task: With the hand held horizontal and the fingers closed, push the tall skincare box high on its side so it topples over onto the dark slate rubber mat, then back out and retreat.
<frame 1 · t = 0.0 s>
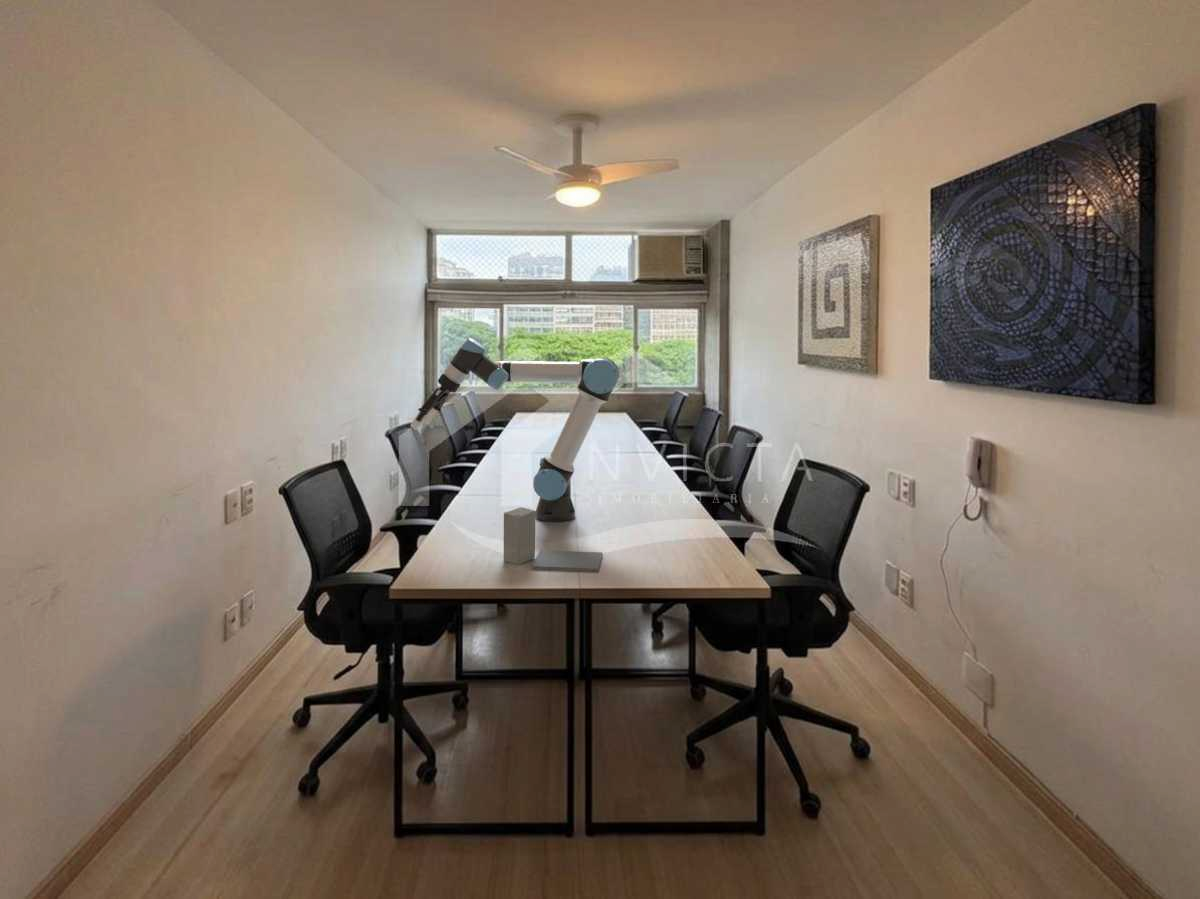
hand: (419, 425, 258), 36 cm above the table, tool tilted 35°, fingers open, 13 cm apart
skincare box: (519, 561, 222), on the table
slate mat: (567, 562, 221), on the table
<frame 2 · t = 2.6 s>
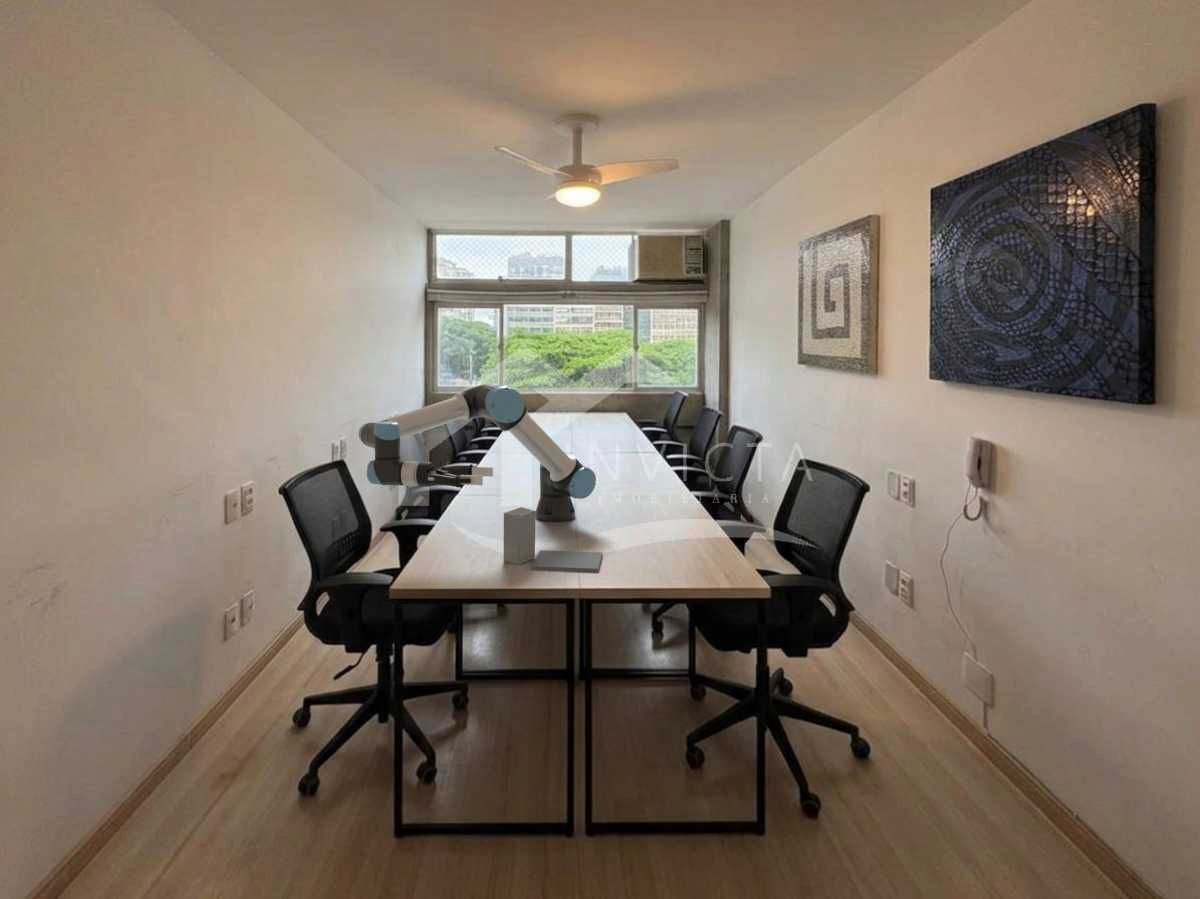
hand: (487, 476, 218), 26 cm above the table, tool horizontal, fingers open, 12 cm apart
nothing on the table moved.
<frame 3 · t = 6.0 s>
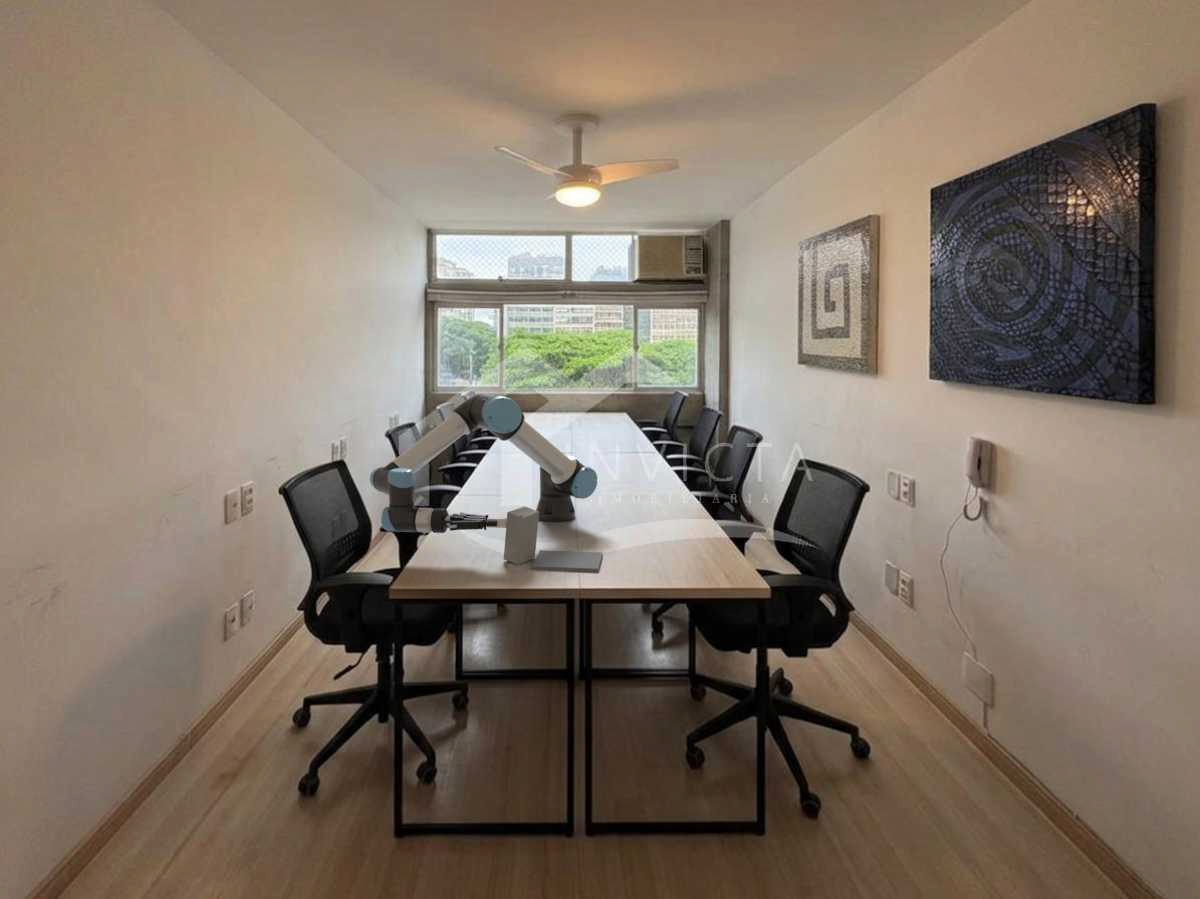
hand: (508, 523, 220), 12 cm above the table, tool horizontal, fingers closed
skincare box: (519, 560, 222), on the table, touching gripper
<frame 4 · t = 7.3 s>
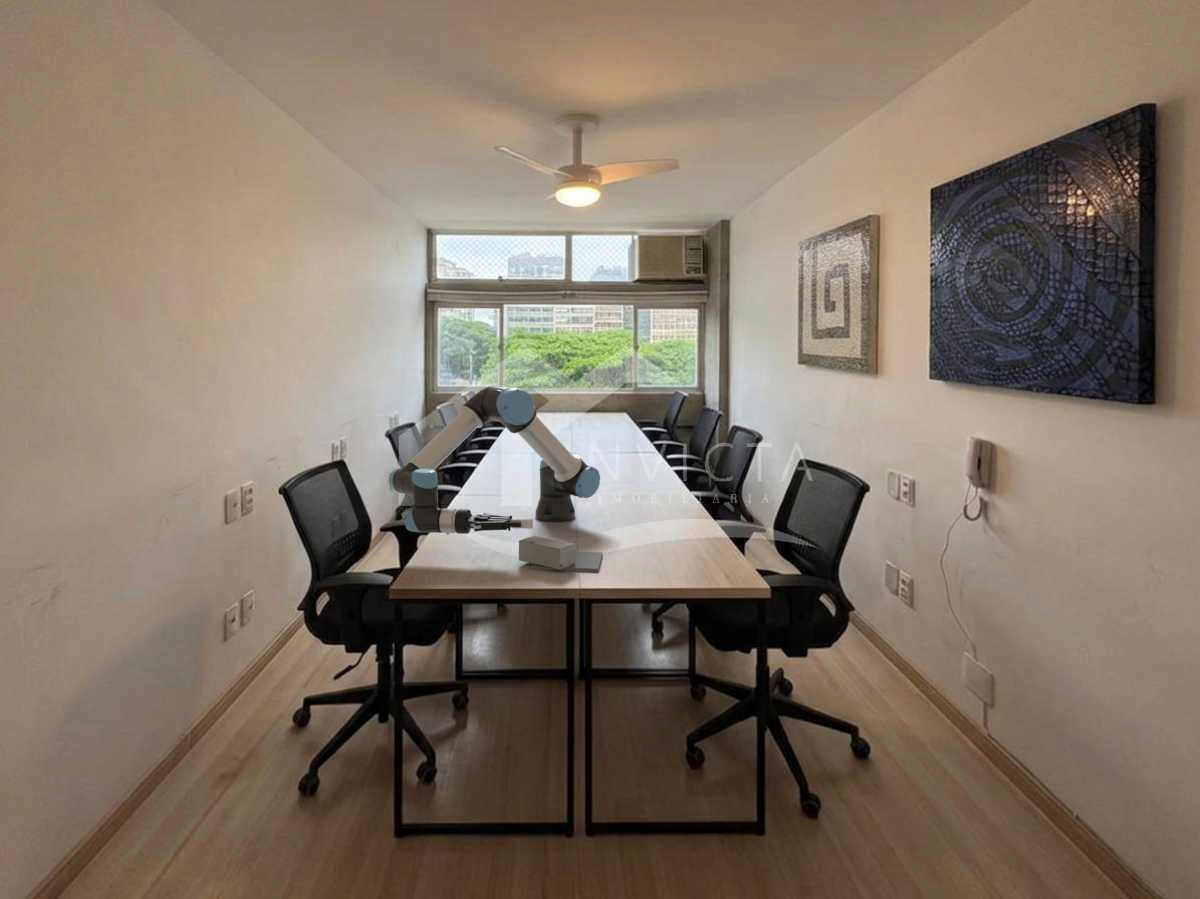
hand: (532, 523, 219), 12 cm above the table, tool horizontal, fingers closed
skincare box: (525, 549, 220), point 4 cm above the table, touching slate mat
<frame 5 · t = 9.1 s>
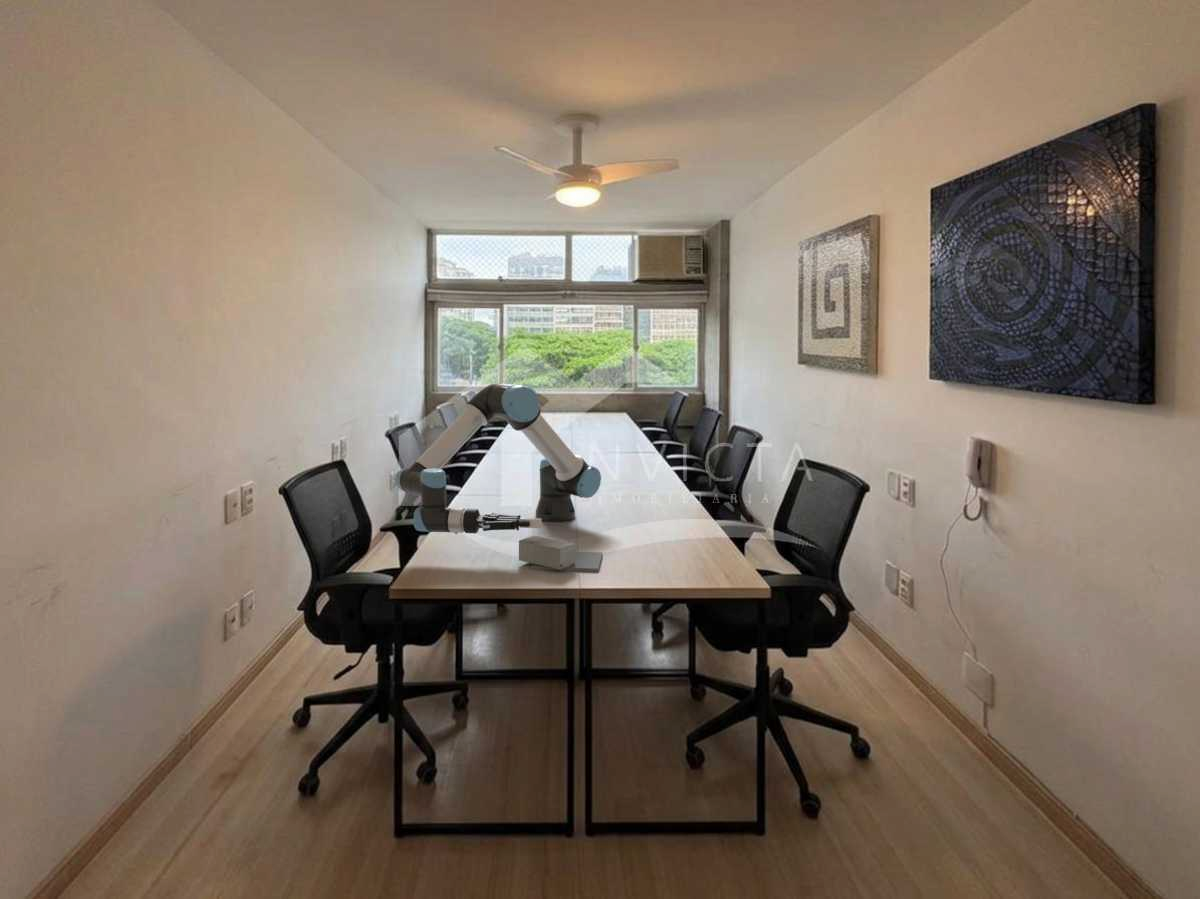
hand: (540, 523, 219), 12 cm above the table, tool horizontal, fingers closed
nothing on the table moved.
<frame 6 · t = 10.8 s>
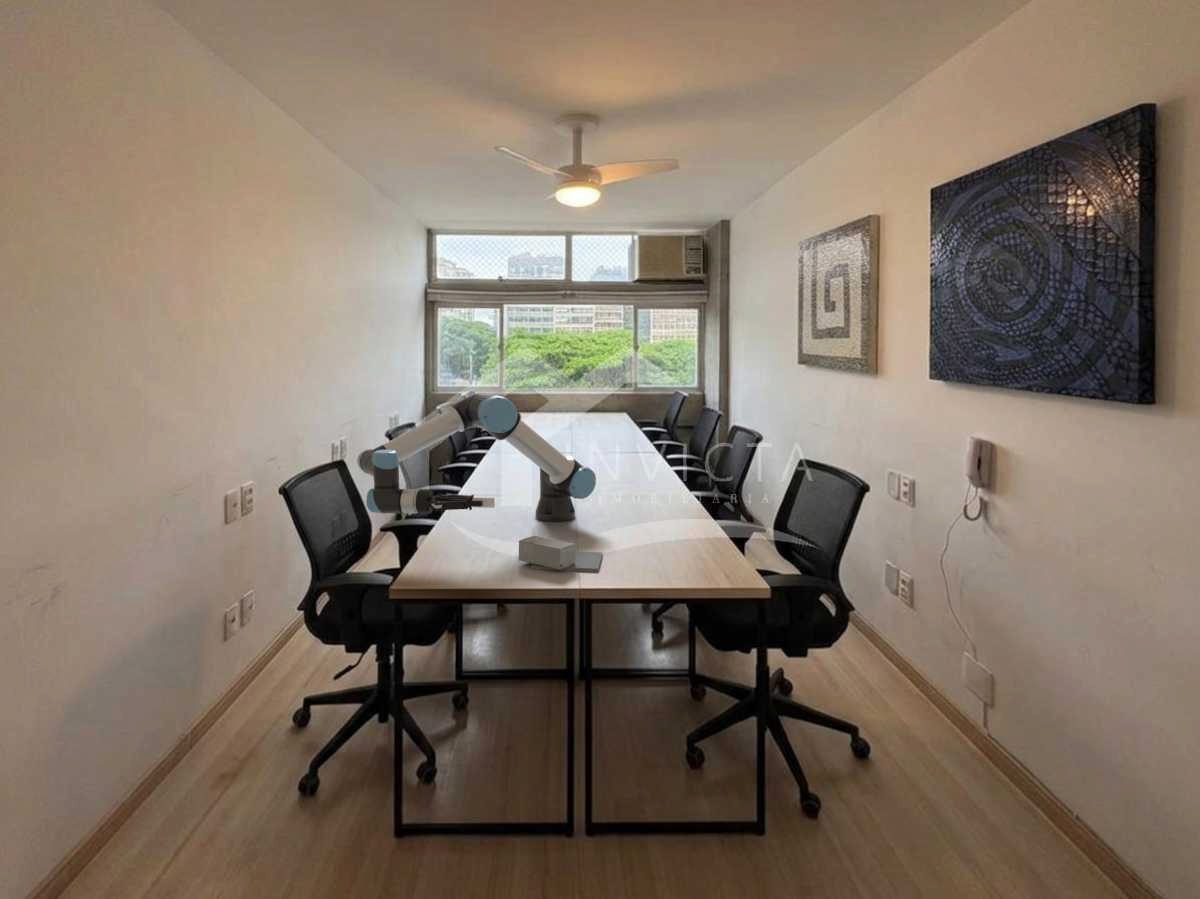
hand: (493, 502, 219), 18 cm above the table, tool horizontal, fingers closed
nothing on the table moved.
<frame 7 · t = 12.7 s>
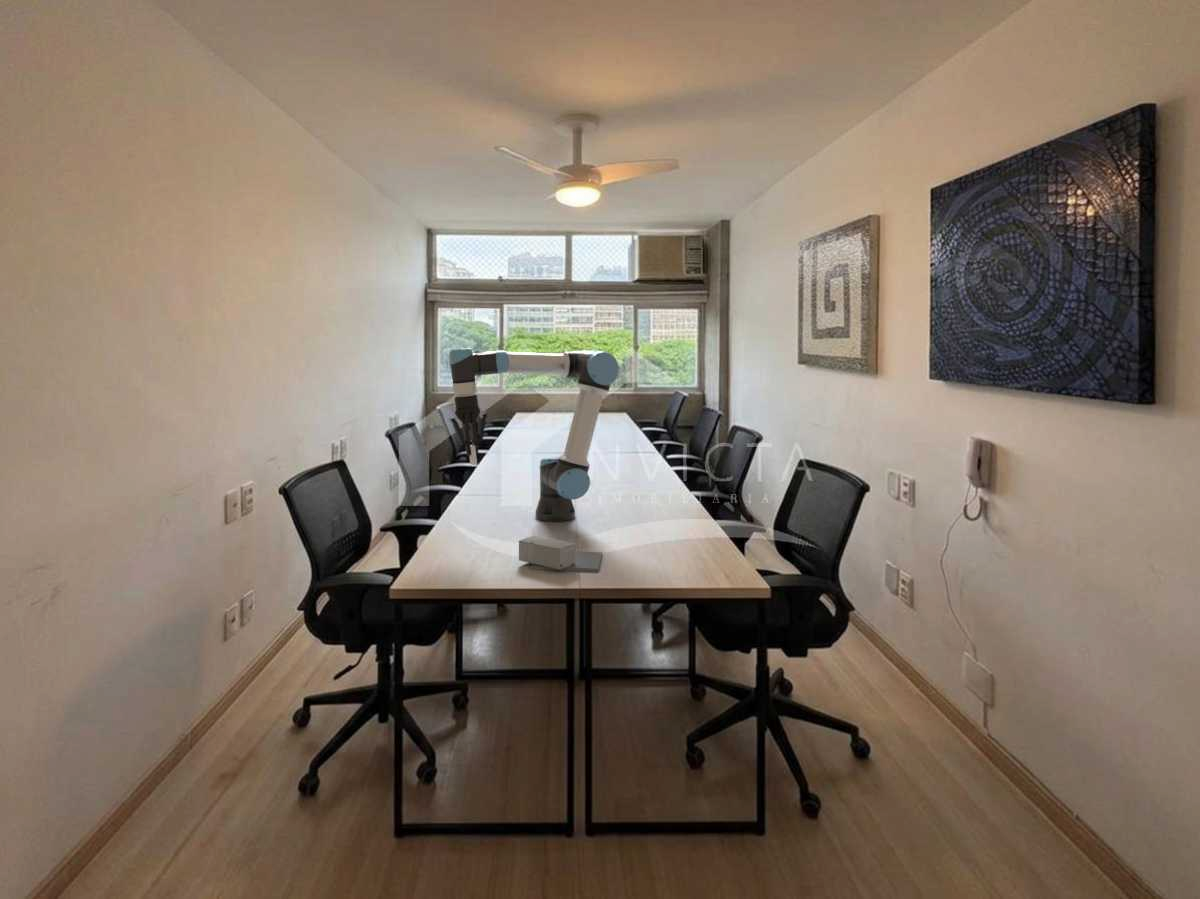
hand: (473, 464, 244), 25 cm above the table, tool pointing down, fingers closed
nothing on the table moved.
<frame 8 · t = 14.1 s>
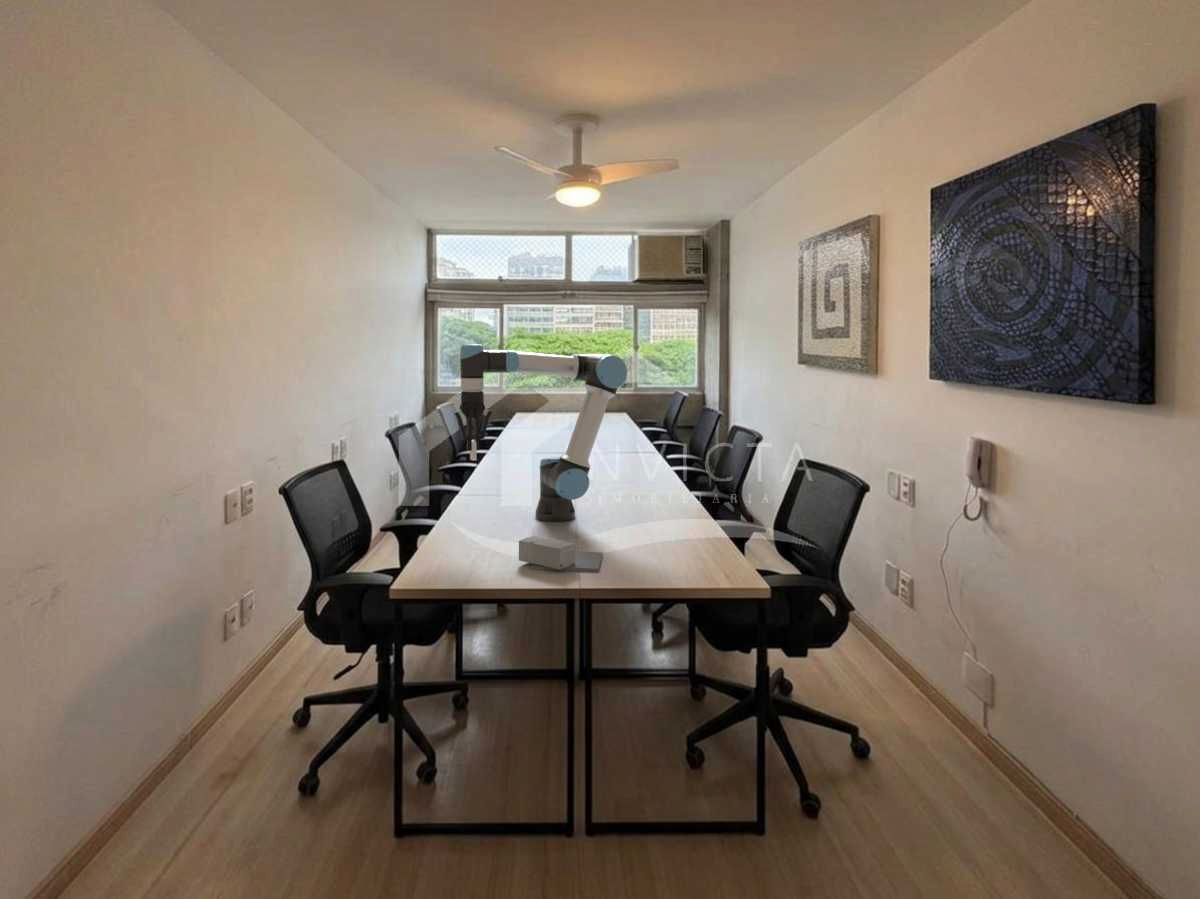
hand: (473, 459, 245), 26 cm above the table, tool pointing down, fingers closed
nothing on the table moved.
at the end: skincare box tilted 87°; skincare box inside the target area (5.0 cm from its centre), point 3.9 cm above the table; the gripper is holding nothing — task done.
